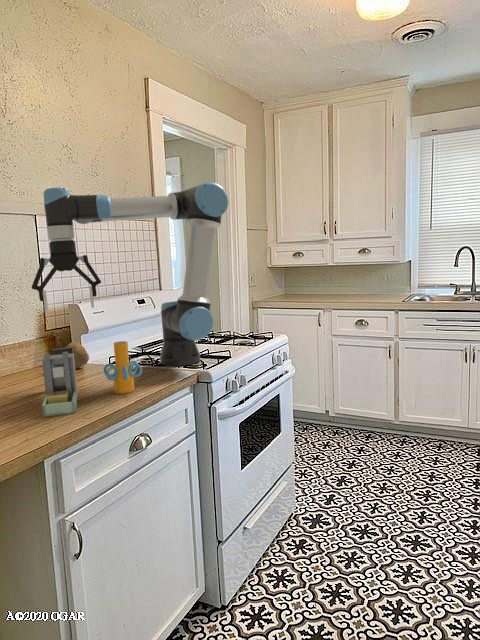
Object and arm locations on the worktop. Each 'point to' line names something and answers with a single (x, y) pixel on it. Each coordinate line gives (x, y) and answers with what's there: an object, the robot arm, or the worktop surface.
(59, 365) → the shaft
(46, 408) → the tray
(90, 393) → the worktop surface
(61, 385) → the housing
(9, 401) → the worktop surface
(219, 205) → the robot arm
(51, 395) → the block
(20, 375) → the worktop surface
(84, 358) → the natural sponge
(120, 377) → the cylinder
